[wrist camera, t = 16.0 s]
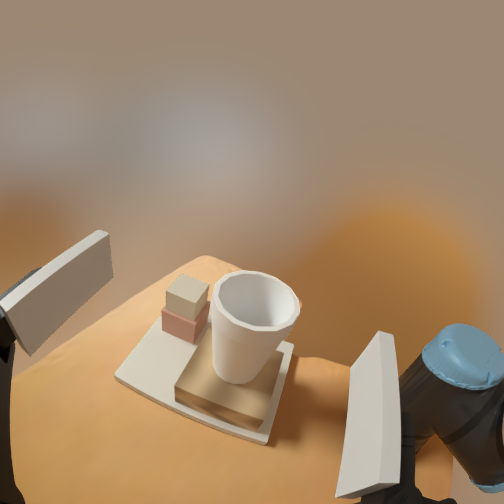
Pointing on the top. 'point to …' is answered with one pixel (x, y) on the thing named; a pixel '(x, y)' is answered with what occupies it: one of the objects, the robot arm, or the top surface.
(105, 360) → the top surface
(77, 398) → the top surface
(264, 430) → the white board
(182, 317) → the terracotta tower
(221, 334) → the foam cup
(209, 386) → the oak plinth
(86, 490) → the top surface
